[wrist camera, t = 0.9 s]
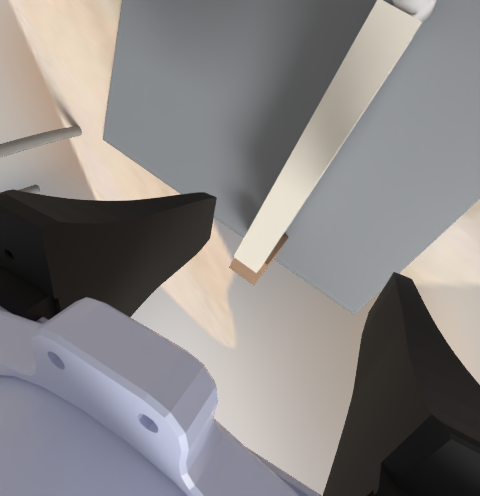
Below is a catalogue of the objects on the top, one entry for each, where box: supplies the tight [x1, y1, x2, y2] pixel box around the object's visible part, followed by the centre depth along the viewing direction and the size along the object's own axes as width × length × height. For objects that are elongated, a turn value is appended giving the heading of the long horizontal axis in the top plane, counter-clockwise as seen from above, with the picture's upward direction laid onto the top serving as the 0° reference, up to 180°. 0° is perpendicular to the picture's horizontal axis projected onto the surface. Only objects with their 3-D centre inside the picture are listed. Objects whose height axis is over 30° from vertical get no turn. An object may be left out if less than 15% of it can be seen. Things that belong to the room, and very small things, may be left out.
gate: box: [234, 0, 437, 273], centre depth 16 cm, size 14×2×5 cm, turn 154°
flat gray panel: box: [103, 0, 480, 315], centre depth 16 cm, size 24×21×6 cm
